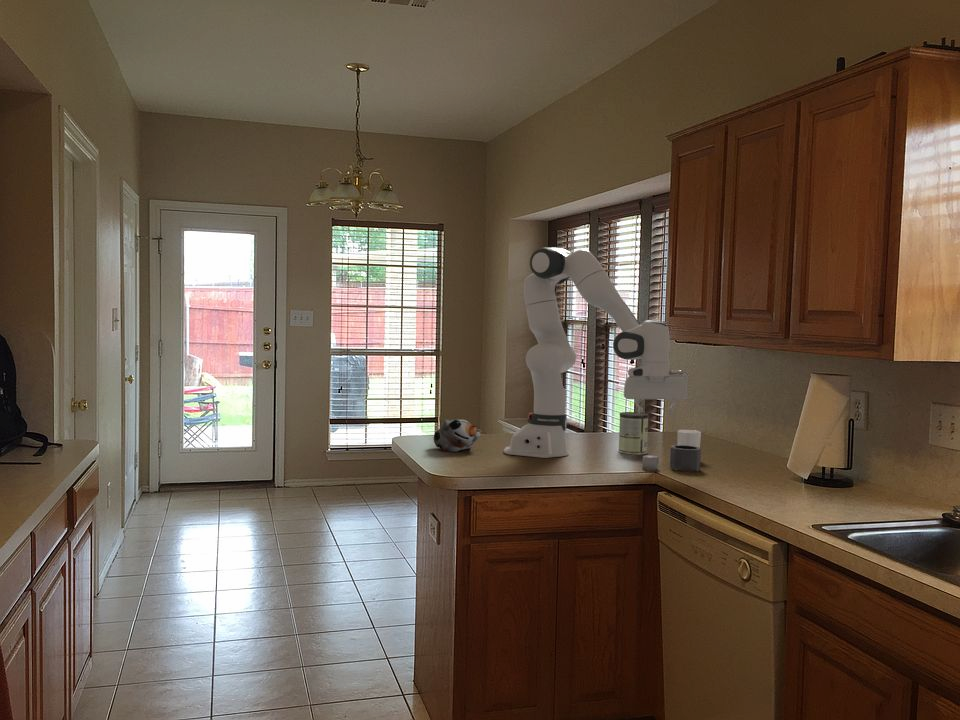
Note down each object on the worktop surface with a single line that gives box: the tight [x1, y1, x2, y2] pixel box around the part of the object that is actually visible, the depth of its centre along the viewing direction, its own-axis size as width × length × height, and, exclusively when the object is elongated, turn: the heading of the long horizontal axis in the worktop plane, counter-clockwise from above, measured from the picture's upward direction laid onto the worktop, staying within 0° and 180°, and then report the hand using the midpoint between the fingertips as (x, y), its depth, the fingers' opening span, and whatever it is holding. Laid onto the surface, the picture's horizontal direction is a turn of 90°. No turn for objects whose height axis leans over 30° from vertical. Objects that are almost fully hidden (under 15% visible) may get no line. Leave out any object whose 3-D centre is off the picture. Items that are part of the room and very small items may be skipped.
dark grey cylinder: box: [669, 444, 702, 472], centre depth 273 cm, size 9×9×7 cm
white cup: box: [677, 429, 702, 448], centre depth 290 cm, size 8×8×10 cm
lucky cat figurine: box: [433, 418, 482, 453], centre depth 294 cm, size 15×12×14 cm
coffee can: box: [618, 411, 650, 456], centre depth 302 cm, size 10×10×14 cm
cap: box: [642, 454, 660, 471], centre depth 271 cm, size 5×5×4 cm
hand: (655, 413), depth 271 cm, fingers open, 8 cm apart
